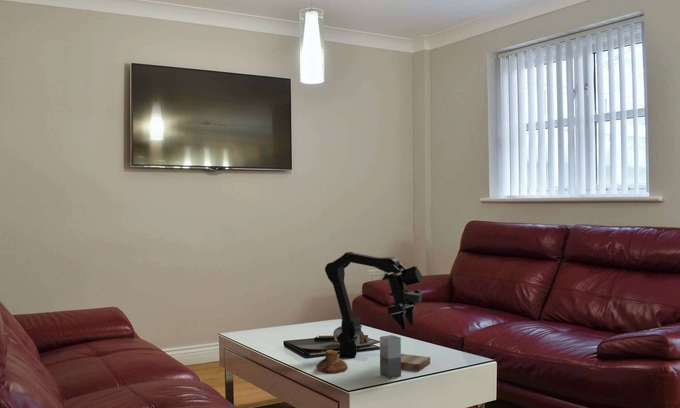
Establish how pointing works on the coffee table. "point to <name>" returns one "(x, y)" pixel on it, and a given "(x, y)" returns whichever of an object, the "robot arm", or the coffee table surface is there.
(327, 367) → the bell
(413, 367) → the stand
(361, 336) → the brown white half disc
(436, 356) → the coffee table surface
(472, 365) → the coffee table surface
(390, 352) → the block
